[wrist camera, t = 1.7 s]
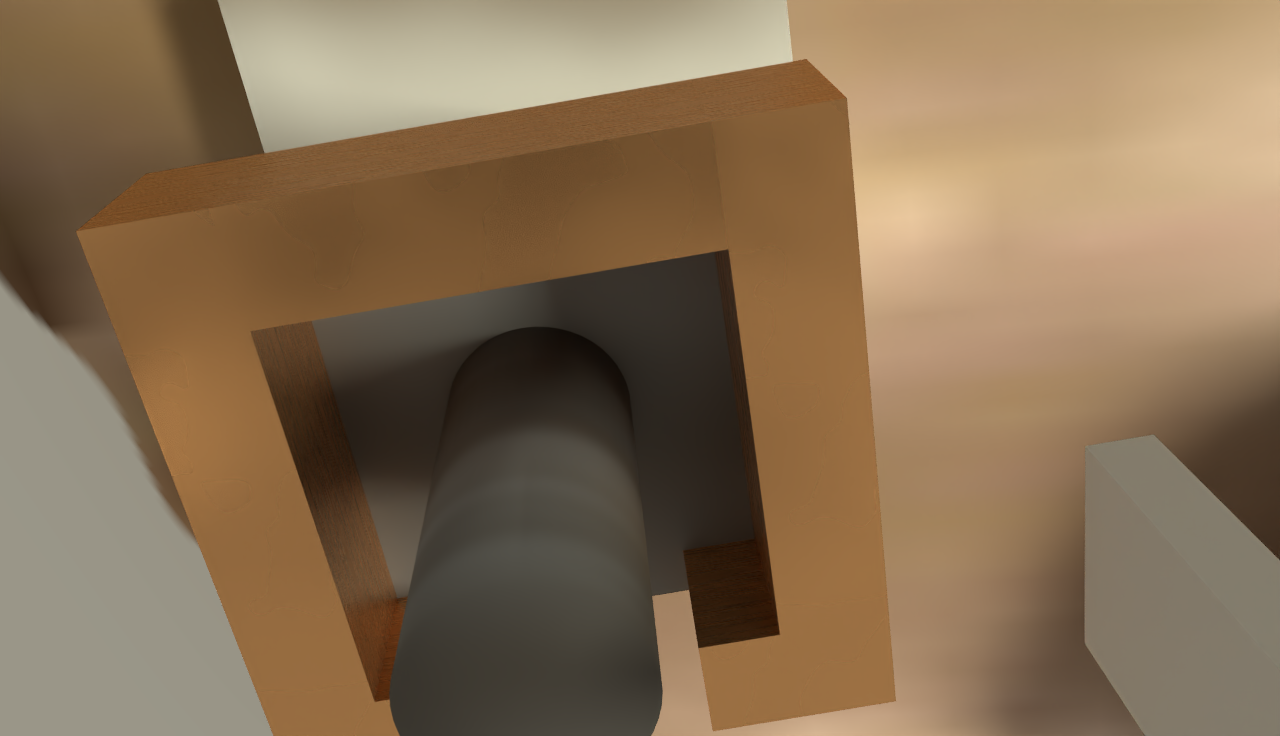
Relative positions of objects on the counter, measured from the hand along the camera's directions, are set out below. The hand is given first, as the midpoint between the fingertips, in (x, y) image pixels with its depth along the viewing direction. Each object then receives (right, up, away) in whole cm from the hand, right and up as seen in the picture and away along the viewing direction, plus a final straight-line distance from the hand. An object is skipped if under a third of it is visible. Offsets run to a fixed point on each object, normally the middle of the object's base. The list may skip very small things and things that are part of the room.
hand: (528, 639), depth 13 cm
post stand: (-1, +7, +15) cm, 17 cm away
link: (0, +2, +5) cm, 5 cm away
